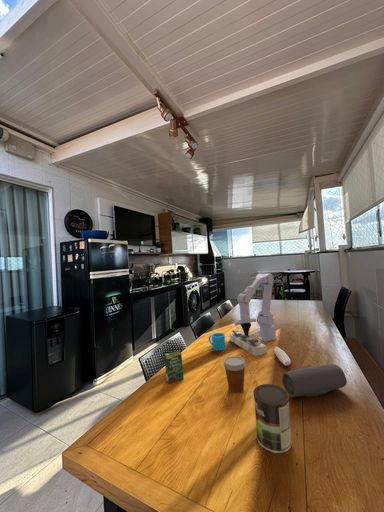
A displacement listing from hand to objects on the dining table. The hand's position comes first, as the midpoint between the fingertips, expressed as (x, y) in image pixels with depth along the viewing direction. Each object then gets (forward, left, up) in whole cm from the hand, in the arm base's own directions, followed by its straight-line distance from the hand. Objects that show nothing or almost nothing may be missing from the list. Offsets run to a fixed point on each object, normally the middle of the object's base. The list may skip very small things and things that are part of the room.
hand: (246, 335), depth 138 cm
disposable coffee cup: (+29, +33, -8) cm, 45 cm away
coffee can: (+33, +61, -8) cm, 70 cm away
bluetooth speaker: (+3, +50, -8) cm, 51 cm away
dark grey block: (0, -11, -1) cm, 11 cm away
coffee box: (+51, +14, -8) cm, 53 cm away
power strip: (-1, -5, -8) cm, 10 cm away
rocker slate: (0, +7, -1) cm, 7 cm away
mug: (+16, -11, -8) cm, 21 cm away
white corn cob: (-7, +22, -8) cm, 24 cm away
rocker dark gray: (0, -2, -1) cm, 3 cm away
